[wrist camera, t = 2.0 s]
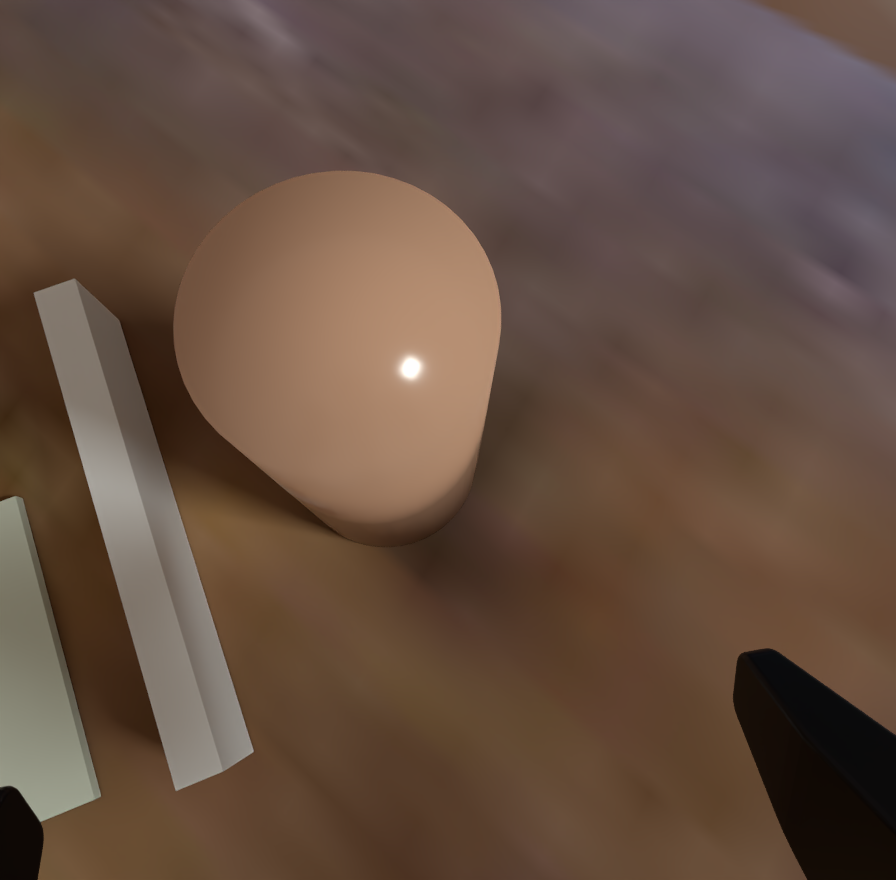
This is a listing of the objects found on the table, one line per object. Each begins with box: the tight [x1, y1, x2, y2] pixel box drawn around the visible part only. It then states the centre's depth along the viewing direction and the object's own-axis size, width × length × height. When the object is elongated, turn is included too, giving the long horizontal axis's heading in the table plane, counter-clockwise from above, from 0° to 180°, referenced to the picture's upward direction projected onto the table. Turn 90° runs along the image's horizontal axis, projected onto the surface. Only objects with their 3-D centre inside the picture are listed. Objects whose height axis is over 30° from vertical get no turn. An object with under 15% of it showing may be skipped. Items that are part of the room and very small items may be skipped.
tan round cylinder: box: [173, 171, 501, 547], centre depth 18 cm, size 6×6×11 cm
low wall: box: [34, 279, 254, 791], centre depth 21 cm, size 14×1×3 cm, turn 22°
